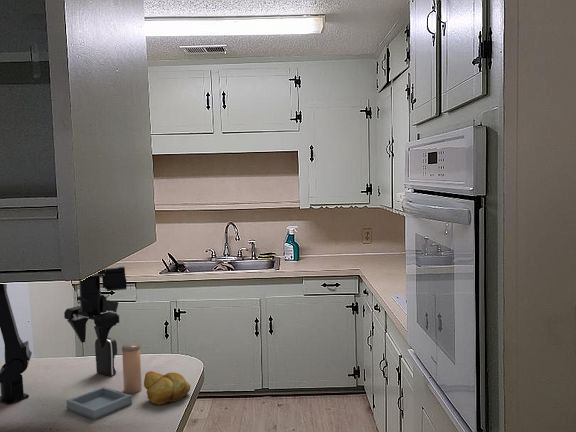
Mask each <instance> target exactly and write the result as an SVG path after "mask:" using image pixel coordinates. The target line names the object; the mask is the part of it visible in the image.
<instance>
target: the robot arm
mask: <svg viewBox="0 0 576 432" xmlns="http://www.w3.org/2000/svg"><path fill="white" fill-rule="evenodd" d="M105 268H106V267H105ZM93 274H94V275H92V276H90V277H88V278H86V279H85V280H83V281H79V280H78V281H79V283H78V285H79V286H78V287H79V296H77V297H76V300H77V301H79V302H80V303H79V305H78V306H72V307H69V308H66V309H65V311H64V313H63V315H64V320H67V321H66V322H68V323H69V324H70V326H71V328H72V329H73V331H74V332H75V335H76V336H77V337H78V339H79V341H80V343H85V342H86V334H87V333H86V332H87V323H88V320H93V323H94V325H95V326H94V325H93V329H94V331H95V335H96V337H97V338H96V339H98V341H99V344H100V347H101V348H103V347H105V344H106V340H107V337H108V338H109V333H110V330H111V329H113V327H114V326H116V325H117V324H119V323H120V315H119V314H118V313H117V312H118V307H119V301H113V300H109V299H107V296H105V295H104V294H102V293H101V278H102V289H105V290H106V292H110V291H111V292H113V291H123V290H125V291H126V290H127V285H128V284H127V277H126V268H125V266H118V267H108V268H106V269H104V270H102V271H100V272H98V273H93ZM7 286H8V284H0V332H1V336H2V340H3V344H4V364H3V365H2V366H1V368H0V402H1V403H4V404H6V405H9V404H12V403H15V402H18V401H21V400H24V399H26V398H29V396H30V395H29V394H28V393H25V391H24V380H23V373H24V372H25V371H26V370H27V369H28V367H29V363H30V360H31V357H32V355H33V352H32V351H31V350H30V345H29V341H28V340H27V341H23V340H22V339H21V337H20V334H19V331H18V328H17V323H16V319H15V316H14V313H13V310H12V309H13V308H12V305H11V302H10V298H9V295H8V287H7Z"/></svg>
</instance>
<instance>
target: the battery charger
mask: <svg viewBox="0 0 576 432" xmlns="http://www.w3.org/2000/svg"><path fill="white" fill-rule="evenodd" d="M94 352H95V353H94V354H95V366H96V367H95V368H96V373H97V374H100V375H104V376H108V377H111V376H114V375H116V374H117V370H116V369H115V357H116V356H117V355H118V344H117V341H116V339H115V338H113V337H109V336H108V337H107V340H106V344H105V347H103V348H101V347H100V344H99V341H98V338H96V339H95V342H94Z"/></svg>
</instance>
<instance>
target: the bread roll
mask: <svg viewBox="0 0 576 432" xmlns="http://www.w3.org/2000/svg"><path fill="white" fill-rule="evenodd" d="M143 387H144V388H145V389H146V394H147V400H149V401H150V403H152V404H153V405H162V404H166V403H167V402H169V403H170V402H176V401H179V400H182V398H183V397H186V395H188V393H189V392H190V391H191V384H190V382H188V381H187V380H186V378H185V377H184V376H183V375H182V374H180V373H178V372H167V373H166V374H161V373H160V372H155V371H151V370H150V371H147V372H146V373H145V374H144V380H143Z"/></svg>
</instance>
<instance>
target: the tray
mask: <svg viewBox="0 0 576 432" xmlns="http://www.w3.org/2000/svg"><path fill="white" fill-rule="evenodd" d="M132 401H133V400H132V395H131V394H130V393H125V392H124V391H123V392H122V391H120V390H116V389H112V388H109V387H106V386H101V387H99V388H96V389H93V390H91V391H88V392H85V393H83V394H80V395H78V396H75V397H72V398H69V399H67V400H66V410H67V411H69V412H73V413H75V414H78V415H80V416H82V417H86V418H88V419H91V420H93V421H95V420H98V419H101V418H104V417H105V416H108V415H109V414H110V415H111V414H112V413H115V412H118V411H120V410H121V409H124V408H126V407H129V406H131V405H132V404H133V402H132Z"/></svg>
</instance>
